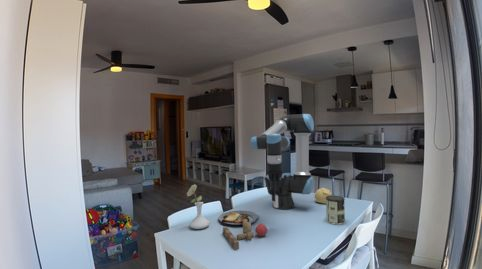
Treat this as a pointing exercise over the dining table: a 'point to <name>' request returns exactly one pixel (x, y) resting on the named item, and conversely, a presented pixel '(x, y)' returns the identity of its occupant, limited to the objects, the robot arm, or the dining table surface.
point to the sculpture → (322, 195)
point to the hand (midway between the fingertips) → (275, 206)
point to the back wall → (231, 238)
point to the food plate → (237, 217)
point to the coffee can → (335, 209)
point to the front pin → (244, 236)
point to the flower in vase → (199, 220)
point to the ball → (261, 229)
